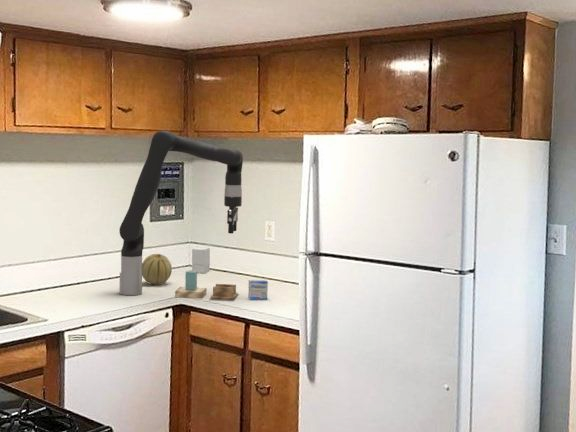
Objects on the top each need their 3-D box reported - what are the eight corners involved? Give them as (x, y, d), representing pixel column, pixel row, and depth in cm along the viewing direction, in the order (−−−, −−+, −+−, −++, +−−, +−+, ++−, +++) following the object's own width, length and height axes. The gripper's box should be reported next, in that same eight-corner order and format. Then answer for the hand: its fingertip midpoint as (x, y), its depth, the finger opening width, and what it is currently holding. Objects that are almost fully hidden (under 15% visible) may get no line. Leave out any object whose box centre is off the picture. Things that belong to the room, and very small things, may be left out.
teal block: (185, 290, 337) (185, 272, 336) (186, 288, 340) (187, 271, 339) (195, 290, 336) (195, 272, 336) (196, 289, 339) (197, 271, 339)
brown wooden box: (210, 299, 332) (210, 287, 331) (215, 293, 344) (215, 282, 343) (233, 300, 331) (233, 288, 330) (237, 294, 343) (237, 283, 342)
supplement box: (210, 271, 403) (210, 247, 402) (204, 273, 396) (205, 249, 395) (197, 270, 405) (197, 247, 404) (191, 272, 398) (191, 248, 397)
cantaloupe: (155, 280, 374) (156, 250, 373) (178, 284, 366) (178, 253, 364) (133, 284, 362) (134, 253, 361) (156, 288, 354) (156, 256, 352)
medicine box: (249, 300, 332) (250, 281, 331) (248, 298, 336) (248, 279, 336) (267, 300, 334) (267, 281, 333) (265, 298, 338) (266, 279, 337)
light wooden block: (175, 297, 334) (175, 291, 334) (180, 293, 344) (180, 286, 344) (202, 299, 333) (202, 292, 333) (206, 294, 343) (206, 288, 343)
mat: (208, 300, 330) (208, 300, 330) (215, 293, 346) (215, 292, 346) (233, 301, 329) (233, 301, 329) (239, 294, 345) (239, 293, 345)
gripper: (227, 194, 340) (226, 230, 342) (221, 196, 326) (221, 233, 327) (243, 194, 339) (243, 230, 341) (239, 196, 325) (238, 234, 327)
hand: (232, 232), depth 334 cm, fingers open, 8 cm apart
